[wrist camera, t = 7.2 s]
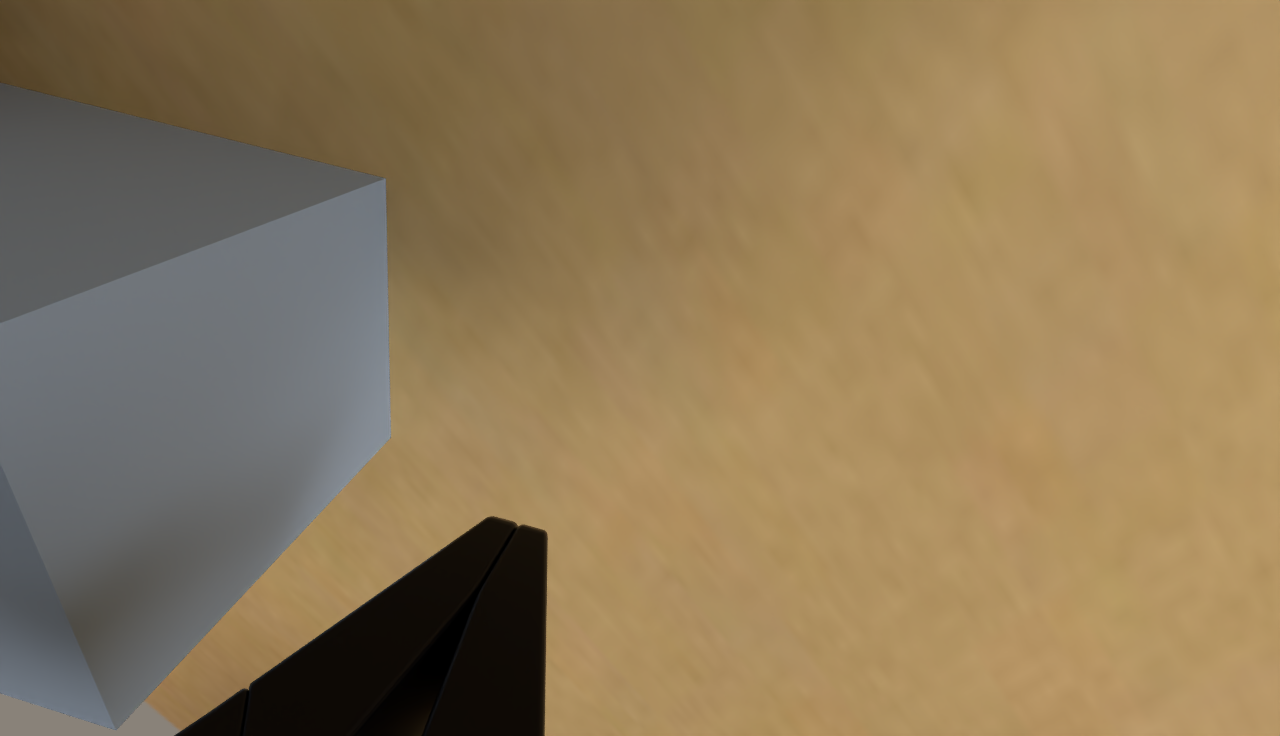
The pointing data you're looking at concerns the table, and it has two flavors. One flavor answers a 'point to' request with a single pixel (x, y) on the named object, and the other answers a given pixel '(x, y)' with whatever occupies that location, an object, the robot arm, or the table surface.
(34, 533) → the block
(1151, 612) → the table surface
